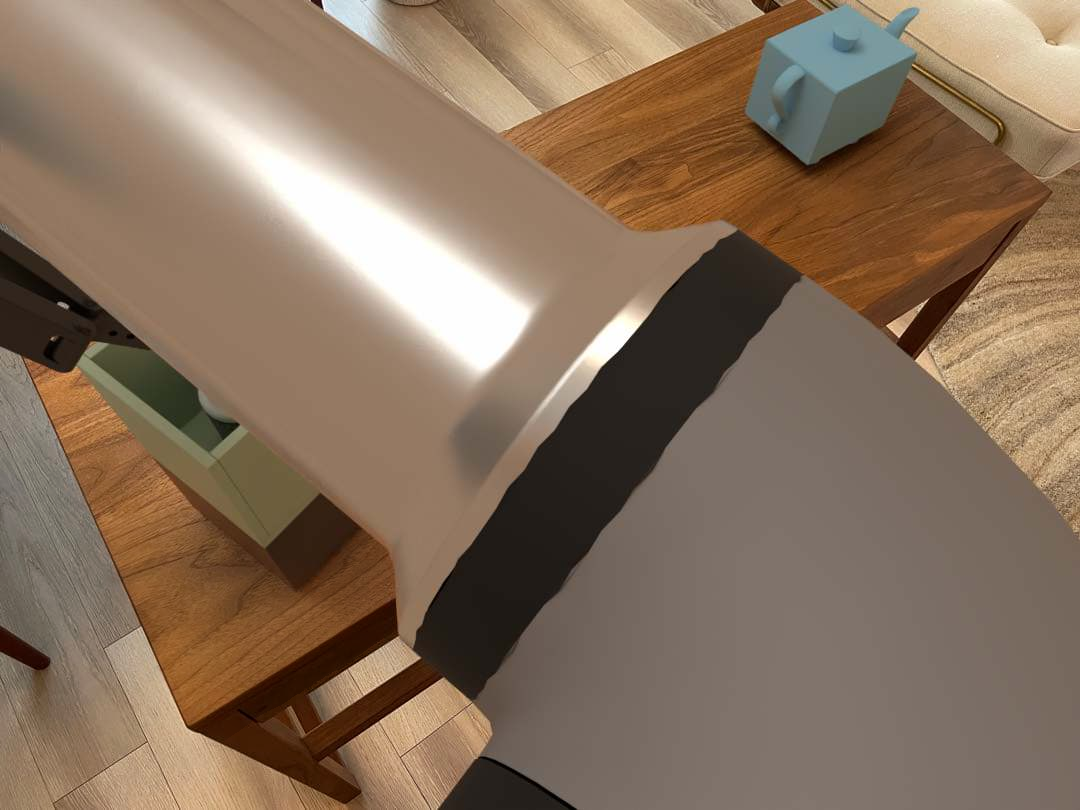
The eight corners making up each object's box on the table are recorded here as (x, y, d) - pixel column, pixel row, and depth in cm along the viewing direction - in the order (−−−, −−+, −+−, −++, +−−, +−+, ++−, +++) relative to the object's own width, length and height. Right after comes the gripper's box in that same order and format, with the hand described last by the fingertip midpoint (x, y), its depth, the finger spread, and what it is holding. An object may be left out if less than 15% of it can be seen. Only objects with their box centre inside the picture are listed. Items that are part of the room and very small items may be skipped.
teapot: (786, 185, 95) (825, 85, 83) (724, 132, 100) (752, 30, 88) (910, 119, 102) (962, 18, 90) (847, 73, 107) (888, -29, 95)
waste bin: (296, 592, 68) (207, 469, 48) (193, 506, 71) (71, 360, 52) (399, 482, 73) (357, 332, 54) (298, 408, 77) (225, 243, 57)
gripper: (-366, -10, 36) (118, 157, 52) (-433, 421, 24) (214, 461, 41) (-335, -165, 33) (170, 65, 49) (-395, 246, 21) (290, 367, 38)
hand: (191, 245), depth 45 cm, fingers open, 13 cm apart
